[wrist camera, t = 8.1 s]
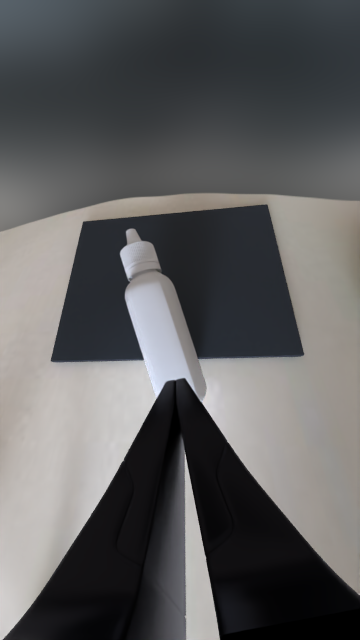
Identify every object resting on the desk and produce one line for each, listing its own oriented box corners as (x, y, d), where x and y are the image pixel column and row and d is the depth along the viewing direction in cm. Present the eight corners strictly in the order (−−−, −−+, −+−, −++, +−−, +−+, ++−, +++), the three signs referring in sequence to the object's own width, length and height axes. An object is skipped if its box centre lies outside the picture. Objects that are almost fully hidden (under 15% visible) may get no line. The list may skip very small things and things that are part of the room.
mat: (300, 356, 15) (304, 355, 15) (55, 362, 17) (50, 361, 17) (265, 208, 21) (267, 204, 21) (85, 225, 23) (82, 221, 22)
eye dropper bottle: (133, 419, 11) (75, 235, 11) (175, 381, 16) (134, 253, 16) (196, 417, 9) (124, 193, 9) (222, 373, 14) (175, 228, 14)
